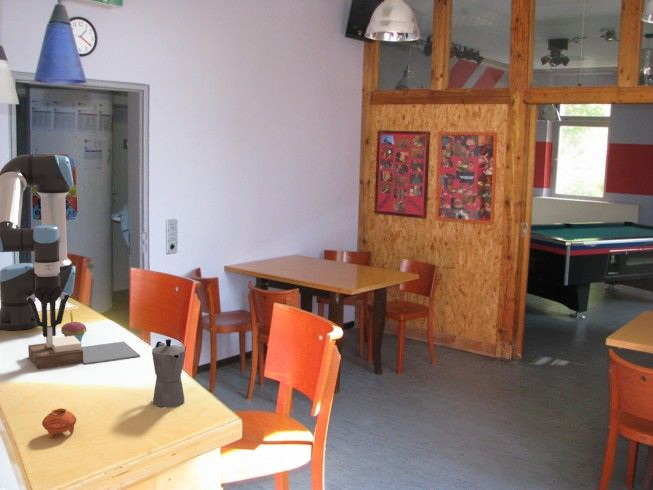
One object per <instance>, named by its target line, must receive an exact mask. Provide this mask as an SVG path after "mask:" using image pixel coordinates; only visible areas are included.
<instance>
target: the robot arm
mask: <svg viewBox="0 0 653 490" xmlns="http://www.w3.org/2000/svg"><path fill="white" fill-rule="evenodd" d="M27 187H31V188H34V187H35V192H36V193H37V194H38V195H39V196H40V207H41V208H40V212H41V214H40V215H41V225H35V227H32V228H21V219H22V209H23V197H24V196H23V195H24V191H25V190H26V188H27ZM73 187H74V179H73V172H72V167H71V162H70V158H69V157H68V156H67V155H60V154H21V155H18V156H15V157H14V158H12V159H10V160H9V161H7V162H6V163H5V164H4V165H3V167H2V168H1V170H0V253H14V252H15V253H17V252H19V253H20V252H33V254H34V255H33V256H34V259H33V260H34V263H31V262H20V263H15V264H9V265H7V266H5V267H2V268H1V269H0V330H2V329H4V330H3V331H23V330H29V329H34V328H36V327H40V328H42V337H44V338H45V343H46V346H47V347H53V338H54V337H56V335H57V332H56V331H57V330H56V329H57V326H58V325H61V324H62V323H63V317H64V314H65V311H66V305H67V302H68V300H69V299H70V296H71V295H73V292H74V286H75V277H76V270H77V269H76V268H77V267H76V266H75V265H72V264H73V263H72V260H71V259H70V258H68V244H67V243H68V241H67V211H66V207H67V206H66V205H67V204H66V202H67V201H66V196H68V194H69V193H70V188H73ZM59 298H60V301H59V306H58V311H57V314H56V306H57V303H56V302H57V300H59ZM36 299H37V300H38V301H39V302H40V305H41V306H40V307H41V319H40V314H39V312H38V308H37V305H36ZM48 304H49V318H50V319H49V321H50V325H49V324H48Z"/></svg>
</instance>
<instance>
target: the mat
mask: <svg viewBox="0 0 653 490" xmlns="http://www.w3.org/2000/svg"><path fill="white" fill-rule="evenodd" d="M81 349H82V350H83V363H82V364H84V365H92V364H93V365H94V364H98V363H105V362H112V361H119V360H120V361H121V360H125V359H126V360H127V359H133V358H140V357H141V354H139V353H138V352H137V351H136V350H135V349H133V348H132V347H131V346H130V345H128V344H127V342H125V341H117V342H110V343H102V344H94V345H87V346H81Z"/></svg>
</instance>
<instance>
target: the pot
mask: <svg viewBox="0 0 653 490" xmlns="http://www.w3.org/2000/svg"><path fill="white" fill-rule="evenodd" d="M76 423H77V417H76V415H75V414H73V413H72V412H71V411H69V410H67V409H65V408H62V407H61V408H56V409H52V410H51V412H50V413H48V414H47V415H46V416H45V417H44V418H43V420H42V423H41V425H42V427H43V428H44V429H45V430H46V431H47V433H48V435H49V438H54V434H62V433H66V432H67V431H69V433H70V435H73V433H74V431H75V425H76Z"/></svg>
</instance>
